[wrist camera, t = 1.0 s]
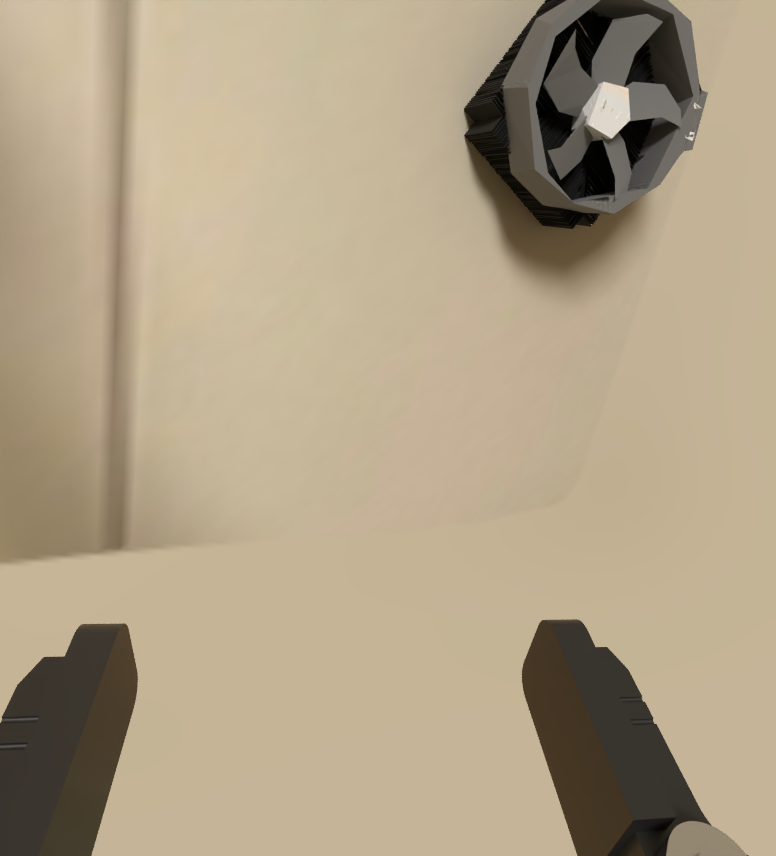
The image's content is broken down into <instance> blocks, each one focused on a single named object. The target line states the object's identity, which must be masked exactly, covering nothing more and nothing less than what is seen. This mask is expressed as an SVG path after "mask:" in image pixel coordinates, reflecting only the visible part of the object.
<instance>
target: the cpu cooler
mask: <svg viewBox="0 0 776 856" xmlns="http://www.w3.org/2000/svg"><path fill="white" fill-rule="evenodd" d="M544 2H545V3H544V4H542V6H541V7H540V8H539V9H538V11H537V13H536V15H535V16H533V18H532V19H531V21H529V23H528V24H527V26H526V28H524V30H523V31H522V34H520V35H519V36H518V38H517V40H515V41H514V43H513V45H512V47H511V48H509V50H508V52H506V53H505V54H506V55H504V57H503V60H501V62H499V63H500V64H497V65H496V66H497V67H495V68H494V70H493V72H491V74H490V76H489V77H487V79H486V80H485V81H486V82H484V84H482V86H481V87H480V89H478V90H479V91H477V92H476V93H477V94H475V95H476V96H474V97H473V98H472V99H471V101H469V102H470V103H468V105H466V107H465V108H464V109H465V111H466V112H467V113H468V114H469V115H470V116H471V118H472V119H473V120H474V121H476V122H475V123H474V124H473V125H472V126H471V128H470V129H469V130H468V131H467V133H466V134H465V136H467V137H466V138H469V139H468V140H471V141H470V142H472V143H476V144H475V145H474V146H476V147H475V148H478V149H477V150H479V151H478V152H482V153H481V154H483V155H482V156H486V157H485V158H487V160H488V161H491V162H490V163H489V164H491V166H493V167H492V168H496V169H495V170H496V172H498V173H497V174H500V176H501V177H503V178H502V179H503V180H504V182H506V183H508V184H507V185H510V186H509V187H512V188H511V189H512V190H514V191H513V192H514V193H517V195H516V196H518V198H520V199H522V200H521V202H522V203H524V205H526V207H528V210H530V212H532V213H533V215H534V217H537V218H536V219H538V220H541V221H540V222H542V223H541V224H542V226H551V227H560V228H569V229H573V228H574V227H575V225H584V226H591V225H590V224H594V223H593V222H595V220H597V218H598V216H597V215H599V214H598V213H601V214H615V213H616V212H618V211H619V210H621V209H623V208H624V207H626V206H627V205H629V204H630V203H632V202H634V201H635V200H637V199H638V198H640V197H641V196H643V195H645V194H646V193H648V192H649V191H651V190H652V189H654V188H656V187H657V186H659V185H660V184H661V182H662V181H663V179H664V178H665V176H666V175H667V174H668V172H669V171H670V169H671V168H672V166H673V165H674V163H675V162H676V160H677V159H678V157H679V156H680V155H681V154H682V153H683V152H684V151H686V150H692V149H693V145H694V141H695V138H696V134H697V130H698V127H699V123H700V119H701V116H702V112H703V108H704V105H705V101H706V97H707V94H708V93H707V92H704V91H702V90H701V87H700V84H699V78H698V70H697V63H696V55H695V48H694V40H693V32H692V25H691V21H690V20H689V19H688V18H687V17H686V16H685V15H683V14H682V13H681V12H680V11H679V10H678V9H677V8H676V7H675V6H673V5H672V4H671V3H670V2H669V1H668V0H546V1H544ZM485 119H486V120H485ZM480 120H481V121H480ZM599 216H600V215H599ZM596 217H597V218H596Z"/></svg>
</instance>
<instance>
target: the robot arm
mask: <svg viewBox="0 0 776 856" xmlns="http://www.w3.org/2000/svg"><path fill="white" fill-rule="evenodd" d="M137 677H138V676H137V669H136V664H135V659H134V654H133V649H132V645H131V639H130V634H129V630H128V626H127V625H126V624H83V625H81V626H79V628H78V629H77V630H76V632H75V634H74V636H73V639H72V641H71V644H70V646H69V648H68V650H67V653H66V655H65V657H44V658H43V659H42V660H41V661H40V662H39V663H38V664H37V665H36V666H35V667H34V668H33V669H32V670H31V671H30V672H29V673H28V675H27V676H26V677H25V678H24V679H23V680H22V681H21V682H20V683H19V684H18V685H17V687H16V689H15V691H14V693H13V696H12V698H11V700H10V702H9V704H8V706H7V708H6V710H5V712H4V714H3V716H2V722H1V723H0V856H91V855H92V851H93V848H94V844H95V841H96V837H97V834H98V830H99V827H100V823H101V819H102V816H103V813H104V809H105V806H106V802H107V799H108V796H109V792H110V789H111V785H112V781H113V778H114V775H115V771H116V767H117V764H118V761H119V757H120V754H121V750H122V747H123V743H124V739H125V736H126V733H127V729H128V726H129V722H130V719H131V715H132V712H133V708H134V704H135V700H136V693H137V682H138V681H137V680H138V678H137ZM522 683H523V690H524V694H525V698H526V701H527V704H528V707H529V710H530V713H531V716H532V719H533V722H534V725H535V728H536V731H537V734H538V737H539V740H540V743H541V746H542V749H543V752H544V755H545V758H546V761H547V765H548V767H549V771H550V773H551V776H552V780H553V783H554V786H555V789H556V792H557V795H558V798H559V801H560V804H561V807H562V810H563V813H564V816H565V819H566V822H567V825H568V828H569V831H570V834H571V837H572V840H573V843H574V846H575V849H576V853H577V855H578V856H748V855H746V854H745V853H744V851H743V850H742V849H741V848H740V847H739V846H738V845H737V844H736V843H735V842H734V841H733V840H732V839H731V838H729V837H728V836H727V835H726V834H724V833H723V832H722V831H720V830H718V829H717V828H715V827H713V826H712V825H711V824H710V823H709V822H708V821H707V819H706V818H705V816H704V814H703V813H702V811H701V810H700V808H699V806H698V804H697V802H696V800H695V798H694V796H693V794H692V792H691V790H690V788H689V787H688V785H687V783H686V781H685V779H684V777H683V775H682V773H681V771H680V769H679V767H678V765H677V763H676V762H675V759H674V757H673V755H672V754H671V752H670V750H669V748H668V746H667V744H666V742H665V740H664V738H663V736H662V734H661V732H660V730H659V728H658V726H657V724H654V722H653V717H652V715H651V713H650V711H649V709H648V707H647V705H646V703H645V702H643V701H642V695H641V693H640V692H639V690H638V688H637V686H636V684H635V682H634V680H633V678H632V676H631V674H630V672H629V670H628V669H627V668H626V667H625V666H624V665H623V664H622V663H621V662H620V661H619V660H618V658H617V657H616V656H615V655H614V654H613V653H612V652H611V651H610V650H609V649H608V648H607V647H595V645H594V643H593V641H592V639H591V637H590V635H589V633H588V631H587V629H586V627H585V625H584V624H583V623H582V622H581V621H579V620H542V621H541V622H540V624H539V626H538V628H537V631H536V633H535V636H534V638H533V641H532V643H531V646H530V649H529V651H528V654H527V656H526V659H525V661H524V664H523V669H522Z"/></svg>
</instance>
